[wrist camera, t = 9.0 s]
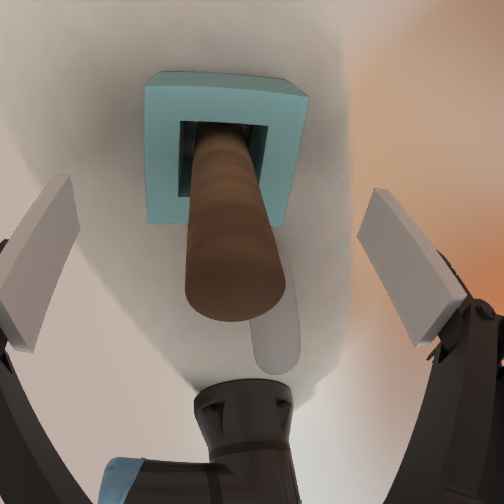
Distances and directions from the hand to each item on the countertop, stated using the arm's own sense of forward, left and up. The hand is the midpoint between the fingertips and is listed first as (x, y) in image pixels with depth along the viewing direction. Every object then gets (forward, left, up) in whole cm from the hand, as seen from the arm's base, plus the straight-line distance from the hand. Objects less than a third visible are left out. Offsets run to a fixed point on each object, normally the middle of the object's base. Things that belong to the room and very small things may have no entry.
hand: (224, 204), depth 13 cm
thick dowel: (0, 0, -9) cm, 9 cm away
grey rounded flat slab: (-12, -5, -9) cm, 16 cm away
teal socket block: (0, 0, -9) cm, 9 cm away
